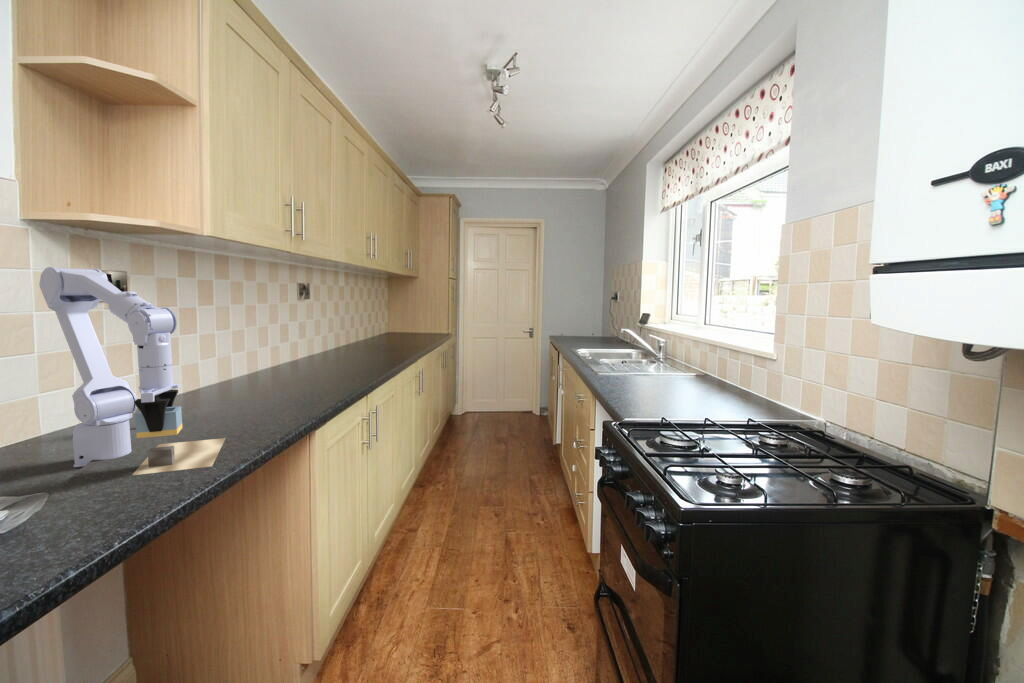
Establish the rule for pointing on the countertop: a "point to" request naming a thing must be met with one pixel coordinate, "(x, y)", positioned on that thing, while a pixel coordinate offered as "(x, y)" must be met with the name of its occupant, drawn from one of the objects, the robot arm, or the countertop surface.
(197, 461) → the board
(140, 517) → the countertop surface
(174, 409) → the sleeve
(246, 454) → the countertop surface
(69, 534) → the countertop surface
